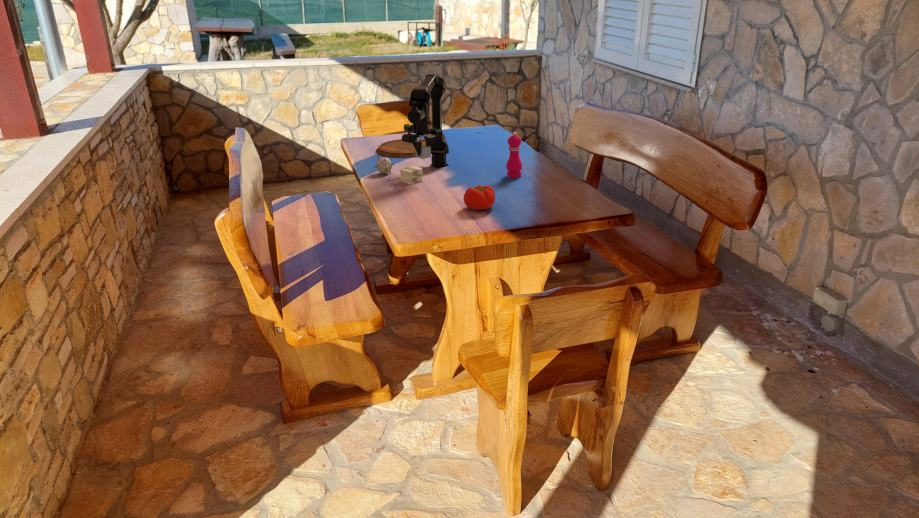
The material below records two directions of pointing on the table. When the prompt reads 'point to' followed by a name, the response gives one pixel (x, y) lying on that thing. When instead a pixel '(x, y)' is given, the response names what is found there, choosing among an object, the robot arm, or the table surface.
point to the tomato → (479, 197)
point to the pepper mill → (514, 157)
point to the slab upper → (411, 172)
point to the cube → (424, 152)
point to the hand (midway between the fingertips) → (423, 154)
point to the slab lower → (411, 180)
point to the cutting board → (398, 149)
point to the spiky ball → (384, 165)
